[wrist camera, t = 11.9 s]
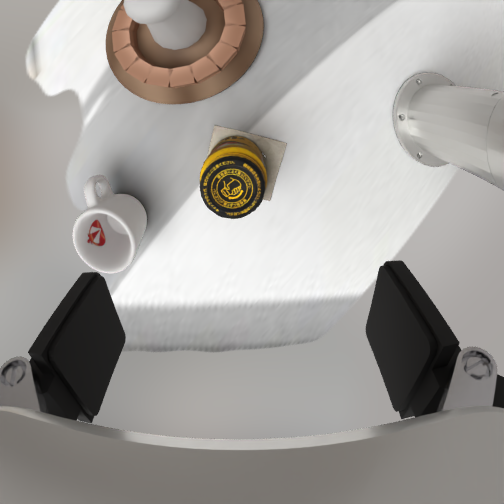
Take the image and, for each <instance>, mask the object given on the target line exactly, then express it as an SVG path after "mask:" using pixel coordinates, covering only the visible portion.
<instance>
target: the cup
mask: <svg viewBox="0 0 504 504" xmlns="http://www.w3.org/2000/svg"><path fill="white" fill-rule="evenodd" d="M96 183H97V184H98V185H99V186H100V189H101V197H100V198H99V197H98V195H97V193H96V188H95V186H96ZM84 195H85V199H86V202H87V209H86V210H85V211H84V212H83V213H82V214H81V215H80V216H79V217H78V218H77V220H76V222H75V224H74V227H73V242H74V245H75V248H76V251H77V253H78V254H79V256H80V257H81V259H82V260H83V261H84V262H85V263H86V264H87V265H89V266H90V267H91V268H93V269H95V270H97V271H99V272H103V273H117V272H120V271H123V270H124V269H126V268H127V267H128V266H129V265H130V264H131V263H132V261H133V260H134V258H135V255H136V253H137V250H138V247H139V245H140V242H141V240H142V238H143V235H144V233H145V230H146V226H147V215H146V211H145V209H144V207H143V205H142V204H141V203H140V202H139V201H138V200H137V199H136V198H134V197H133V196H130V195H127V194H113V192H112V189H111V186H110V184H109V181H108V180H107V178H106V177H105V176H103V175H96V176H93V177H91V178H89V179H88V180H87V181H86V183H85V186H84Z"/></svg>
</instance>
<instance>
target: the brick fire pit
mask: <svg viewBox="0 0 504 504" xmlns="http://www.w3.org/2000/svg"><path fill="white" fill-rule="evenodd" d="M188 1H190V2H192V3H194V4H196V5H197V6H198V7H200V8H201V9H203V11H204V14H205V16H206V19H207V21H206V29H205V32H204V34H203V35H202V36H201V38H200V39H199V40H198V41H197V42H196V43H194V44H192V45H191V46H189V47H188V48H183V49H177V50H173V49H168V48H163V47H162V46H160V45H159V44H158V43H157V42H155V41H154V39H153V37H152V34H151V32H150V30H149V28H148V26H147V24H140V23H137V22H135V21H134V20H133V19H132V18H130V17H129V16H128V15H127V13H126V11H125V8H124V5H123V3H124V0H122V1H121V3H120V4H119V5H118V7H117V8H116V10H115V12H114V14H113V16H112V18H111V20H110V23H109V26H108V30H107V35H106V53H107V59H108V62H109V65H110V68H111V69H112V71H113V73H114V75H115V76H116V78H117V79H118V81H119V82H120V83H121V84H122V85H123V86H124V87H125V88H126V89H128V90H129V91H130V92H132V93H133V94H135V95H137V96H139V97H141V98H143V99H146V100H149V101H152V102H156V103H163V104H184V103H192V102H196V101H200V100H203V99H206V98H209V97H212V96H214V95H216V94H218V93H220V92H222V91H223V90H225V89H226V88H228V87H230V86H231V85H232V84H233V83H235V82H236V81H237V80H238V79H239V78H240V77H241V76H242V75H243V74H244V73H245V72H246V71H247V69H248V68H249V67H250V66H251V64H252V62H253V61H254V59H255V57H256V55H257V53H258V50H259V48H260V45H261V41H262V37H263V28H264V27H263V16H262V11H261V8H260V5H259V3H258V1H257V0H188Z"/></svg>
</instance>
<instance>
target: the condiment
mask: <svg viewBox="0 0 504 504" xmlns="http://www.w3.org/2000/svg"><path fill="white" fill-rule="evenodd" d="M286 145H287V143H284V142H280V141H277V140H273V139H269V138H265V137H261V136H258V135H254V134H250V133H246V132H242V131H238V130H233V129H229V128H225V127H220V126H214V130H213V134H212V138H211V143H210V147H209V151H208V155H207V159H206V160H205V162H204V164H203V167H202V170H201V172H200V191H201V197H202V198H203V201H204V203H205V205H206V206H207V207H208V208H209V209H210V210H211V211H212V212H214V213H215V214H217V215H218V216H220V217H224V218H231V219H236V218H242V217H244V216H246V215H248V214H250V213H251V212H253V211H255V210H256V208H257V207H259V205H260V204H261V202H262V199H264V200H268V201H270V199H271V195H272V191H273V188H274V185H275V181H276V178H277V174H278V171H279V167H280V165H281V161H282V158H283V155H284V152H285V148H286ZM262 152H263V153H264V155H265V156H266V158H265V157H264V155H262Z"/></svg>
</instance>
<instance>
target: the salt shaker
mask: <svg viewBox="0 0 504 504" xmlns="http://www.w3.org/2000/svg"><path fill="white" fill-rule="evenodd" d="M123 5H124V8H125V11H126V13H127V15H128V16H129V17H130V18H132V19H133V20H134V21H135V22H137V23H140V24H147V26H148V28H149V30H150V32H151V34H152V37H153V39H154V41H155V42H157V43H158V44H159V45H160V46H162V47H163V48H168V49H173V50H177V49H183V48H188V47H189V46H191V45H192V44H194V43H196V42H197V41H198V40H199V39H200V38H201V36H202V35H203V34H204V32H205V29H206V21H207V19H206V16H205V14H204V11H203V9H201V8H200V7H198V6H197V5H196V4H194V3H192V2H190V1H188V0H124V3H123Z"/></svg>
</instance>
